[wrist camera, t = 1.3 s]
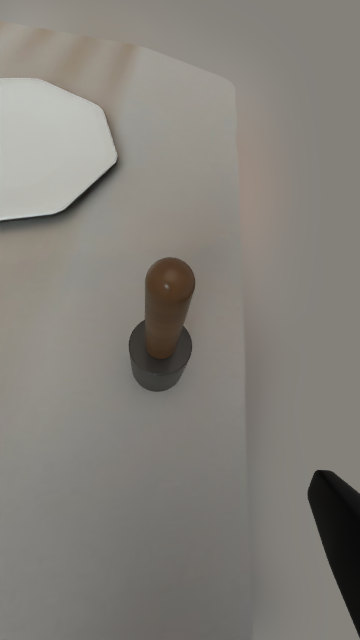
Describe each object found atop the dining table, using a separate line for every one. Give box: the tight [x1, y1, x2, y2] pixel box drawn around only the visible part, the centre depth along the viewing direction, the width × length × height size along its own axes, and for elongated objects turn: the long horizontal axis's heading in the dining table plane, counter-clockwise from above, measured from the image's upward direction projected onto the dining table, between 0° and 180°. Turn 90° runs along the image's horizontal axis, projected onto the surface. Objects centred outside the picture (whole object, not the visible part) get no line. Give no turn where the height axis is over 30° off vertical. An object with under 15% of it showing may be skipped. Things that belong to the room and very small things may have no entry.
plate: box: [0, 78, 118, 222], centre depth 29 cm, size 24×24×2 cm
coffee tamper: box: [129, 257, 195, 391], centre depth 16 cm, size 4×4×13 cm
